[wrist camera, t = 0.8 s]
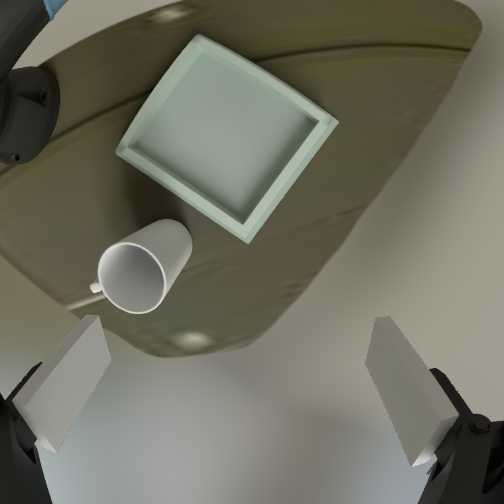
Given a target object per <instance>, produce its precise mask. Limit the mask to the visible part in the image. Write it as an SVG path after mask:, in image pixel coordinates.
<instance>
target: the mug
mask: <svg viewBox="0 0 504 504" xmlns="http://www.w3.org/2000/svg"><path fill="white" fill-rule="evenodd" d="M191 252H192V238H191V236H190V233H189V232H188V230H187V229H186V227H185V226H184V225H182V224H181V223H179V222H178V221H175V220H172V219H162V220H159V221H156V222H154V223H152V224H150V225H148V226H146V227H144V228H142V229H141V230H139V231H137V232H135V233H133V234H131V235H129V236H127V237H126V238H124V239H122V240H120V241H118V242H117V243H115V244H114V245H112V246H110V247H109V248H108V249H107V250H106V251H105V252H104V253H103V255H102V256H101V258H100V261H99V265H98V277H97V278H96V279H95V280H94V282H93V283H92V284H91V285H90V288H91V290H92V292H93V293H96V292H99V291H101V290H103V292H104V294H105V295H106V297H107V298H108V299H109V300H110V301H111V302H112V303H113V304H114V305H115V306H117V307H118V308H120V309H122V310H124V311H126V312H130V313H136V314H141V313H147V312H149V311H152V310H153V309H155V308H156V307H157V306H158V305H159V304H160V303H161V302H162V300H163V298H164V297H165V295H166V294H167V292H168V291H169V289H170V287H171V286H172V284H173V283H174V281H175V279H176V278H177V276H178V274H179V273H180V271H181V270H182V268H183V267H184V265H185V264H186V262H187V260H188V258H189V257H190V255H191Z"/></svg>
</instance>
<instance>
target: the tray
mask: <svg viewBox="0 0 504 504" xmlns="http://www.w3.org/2000/svg"><path fill="white" fill-rule="evenodd" d="M338 123H339V121H337V120H336V119H335V118H333V117H332V116H331V115H330V114H328V113H327V112H326V111H324V110H323V109H322V108H320V107H319V106H318V105H316V104H315V103H314V102H312V101H311V100H309V99H308V98H307V97H305V96H304V95H302V94H301V93H299V92H298V91H297V90H295V89H294V88H292V87H291V86H289V85H288V84H286V83H285V82H283V81H282V80H280V79H279V78H277V77H275V76H274V75H272V74H271V73H269V72H267V71H266V70H264V69H263V68H261V67H259V66H258V65H256V64H254V63H253V62H251V61H249V60H247V59H246V58H244V57H242V56H240V55H239V54H237V53H235V52H233V51H231V50H230V49H228V48H226V47H224V46H222V45H220V44H218V43H216V42H214V41H213V40H211V39H209V38H207V37H204V36H202V35H200V34H198V35H196V36H195V37H194V38H193V39H192V40H191V42H190V43H189V44H188V45H187V46H186V48H185V49H184V50H183V51H182V52H181V54H180V55H179V56H178V57H177V59H176V60H175V61H174V63H173V64H172V65H171V67H170V68H169V69H168V70H167V72H166V73H165V75H164V76H163V77H162V79H161V80H160V81H159V83H158V84H157V86H156V87H155V88H154V90H153V91H152V93H151V94H150V96H149V97H148V99H147V100H146V102H145V103H144V105H143V106H142V108H141V109H140V111H139V112H138V114H137V115H136V117H135V118H134V120H133V122H132V123H131V125H130V127H129V128H128V130H127V131H126V133H125V135H124V136H123V138H122V140H121V142H120V143H119V145H118V147H117V149H116V150H117V151H116V153H115V154H117V155H118V156H120V157H121V158H123V159H124V160H126V161H127V162H128V163H130V164H131V165H133V166H134V167H136V168H137V169H139V170H140V171H142V172H143V173H145V174H146V175H148V176H149V177H151V178H152V179H153V180H155V181H156V182H158V183H159V184H161V185H162V186H164V187H165V188H167V189H168V190H170V191H171V192H173V193H174V194H175V195H177V196H178V197H180V198H181V199H183V200H184V201H186V202H187V203H189V204H190V205H192V206H193V207H194V208H196V209H197V210H199V211H200V212H202V213H203V214H205V215H206V216H208V217H209V218H211V219H212V220H213V221H215V222H216V223H218V224H219V225H221V226H222V227H224V228H225V229H227V230H228V231H229V232H231V233H232V234H234V235H235V236H237V237H238V238H240V239H241V240H243V241H244V242H246V243H247V244H249V243H250V241H251V240H252V239H253V237H254V236H255V235H256V233H257V232H258V230H259V229H260V228H261V226H262V225H263V224H264V222H265V221H266V220H267V218H268V217H269V216H270V214H271V213H272V211H273V210H274V209H275V207H276V206H277V205H278V203H279V202H280V201H281V199H282V198H283V197H284V195H285V194H286V192H287V191H288V190H289V188H290V187H291V186H292V184H293V183H294V182H295V180H296V179H297V178H298V176H299V175H300V174H301V172H302V171H303V170H304V168H305V167H306V165H307V164H308V163H309V161H310V160H311V159H312V157H313V156H314V155H315V153H316V152H317V151H318V149H319V148H320V147H321V145H322V144H323V143H324V141H325V140H326V139H327V137H328V136H329V135H330V133H331V132H332V131H333V129H334V128H335V127H336V125H337V124H338Z"/></svg>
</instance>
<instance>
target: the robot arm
mask: <svg viewBox="0 0 504 504" xmlns="http://www.w3.org/2000/svg"><path fill="white" fill-rule="evenodd" d="M66 1H68V0H0V162H2V163H4V164H8V165H16V164H24V163H27V162H29V161H31V160H32V159H34V158H35V157H36V156H37V155H38V154H39V153H40V152H41V151H42V149H43V148H44V147H45V145H46V144H47V142H48V140H49V138H50V136H51V134H52V132H53V129H54V127H55V124H56V120H57V116H58V111H59V102H60V96H59V88H58V84H57V81H56V79H55V77H54V76H53V75H52V74H51V73H50V72H49V71H47V70H45V69H42V68H38V67H32V66H30V67H23V68H18V69H13V70H11V69H12V68H13V66H14V65H15V64H16V62H17V61H18V59H19V58H20V57H21V55H22V54H23V53H24V51H25V50H26V49H27V47H28V46H29V45H30V44H31V42H32V41H33V40H34V39H35V37H36V36H37V35H38V34H39V33H40V32H41V30H42V29H43V28H44V27H45V26H46V25H47V24H48V22H49V21H52V20H53V18H54V15H55V14H56V13H57V11H58V10H59V9H60V8H61V7H62V6H63V5H64V4H65V3H66ZM110 362H111V357H110V354H109V350H108V347H107V344H106V340H105V337H104V333H103V329H102V326H101V322H100V318H99V316H98V315H88V314H86V315H85V316H84V318H83V319H82V320H81V321H80V322H79V323H78V324H77V325H76V326H75V327H74V328H73V329H72V331H71V332H70V333H69V334H68V335H67V336H66V337H65V338H64V339H63V340H62V341H61V343H60V344H59V345H58V346H57V347H56V348H55V349H54V350H53V352H52V353H51V354H50V355H49V356H48V357H47V358H46V360H45V361H44V362H40V363H39V364H37V365H36V366H34V367H32V369H31V370H30V371H29V372H28V373H27V376H25V377H24V378H23V379H22V382H20V383H19V384H18V385H17V387H16V388H15V389H14V390H13V391H12V392H11V394H10V395H9V396H8V398H7V399H6V400H4V398H3V396H2V395H1V393H0V504H53V503H52V500H51V497H50V494H49V491H48V488H47V485H46V481H45V478H44V474H43V470H42V467H41V463H40V458H39V454H38V450H37V448H36V446H35V444H34V443H35V442H36V440H38V441H39V442H40V444H41V445H42V446H43V447H44V448H45V449H48V450H50V451H53V452H55V453H58V451H59V450H60V447H61V445H62V444H63V442H64V440H65V438H66V437H67V435H68V433H69V431H70V429H71V428H72V426H73V424H74V422H75V420H76V419H77V417H78V415H79V413H80V412H81V410H82V408H83V407H84V405H85V403H86V402H87V400H88V398H89V396H90V395H91V393H92V391H93V390H94V388H95V386H96V385H97V383H98V381H99V380H100V378H101V377H102V375H103V373H104V371H105V370H106V368H107V367H108V365H109V364H110ZM365 365H366V367H367V369H368V371H369V373H370V375H371V377H372V379H373V381H374V384H375V386H376V388H377V390H378V392H379V394H380V396H381V399H382V401H383V403H384V405H385V408H386V410H387V412H388V414H389V416H390V419H391V421H392V423H393V425H394V428H395V430H396V432H397V434H398V437H399V439H400V442H401V444H402V446H403V449H404V451H405V454H406V456H407V458H408V461H409V463H410V466H411V467H413V466H416V465H419V464H422V463H425V462H428V461H429V460H430V458H431V457H432V455H433V454H434V453H435V455H436V457H437V461H436V462H435V463H434V464H433V466H432V467H431V468H430V469H429V471H428V472H427V474H428V475H429V474H430V472H431V471H432V472H431V474H430V477H429V479H428V481H427V484H426V486H425V488H424V491H423V493H422V495H421V498H420V500H419V502H418V504H504V421H496V422H491V421H490V420H489V419H488V418H487V417H486V416H483V415H481V414H473V413H472V412H471V410H470V409H469V407H468V406H467V405H466V403H465V402H464V400H463V399H462V397H461V396H460V394H459V393H458V391H456V390H455V387H454V386H453V385H452V384H451V382H450V381H449V379H448V378H447V376H446V375H445V374H444V373H442V372H441V371H440V370H438V369H437V368H433V369H428V367H427V366H426V365H425V363H424V362H423V361H422V359H421V358H420V356H419V355H418V354H417V352H416V351H415V349H414V348H413V347H412V345H411V344H410V343H409V341H408V340H407V338H406V337H405V336H404V335H403V333H402V332H401V330H400V329H399V328H398V326H397V325H396V324H395V322H394V321H393V320H392V319H391V317H390V316H387V317H376V318H375V323H374V328H373V332H372V337H371V341H370V345H369V350H368V354H367V358H366V362H365Z"/></svg>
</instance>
